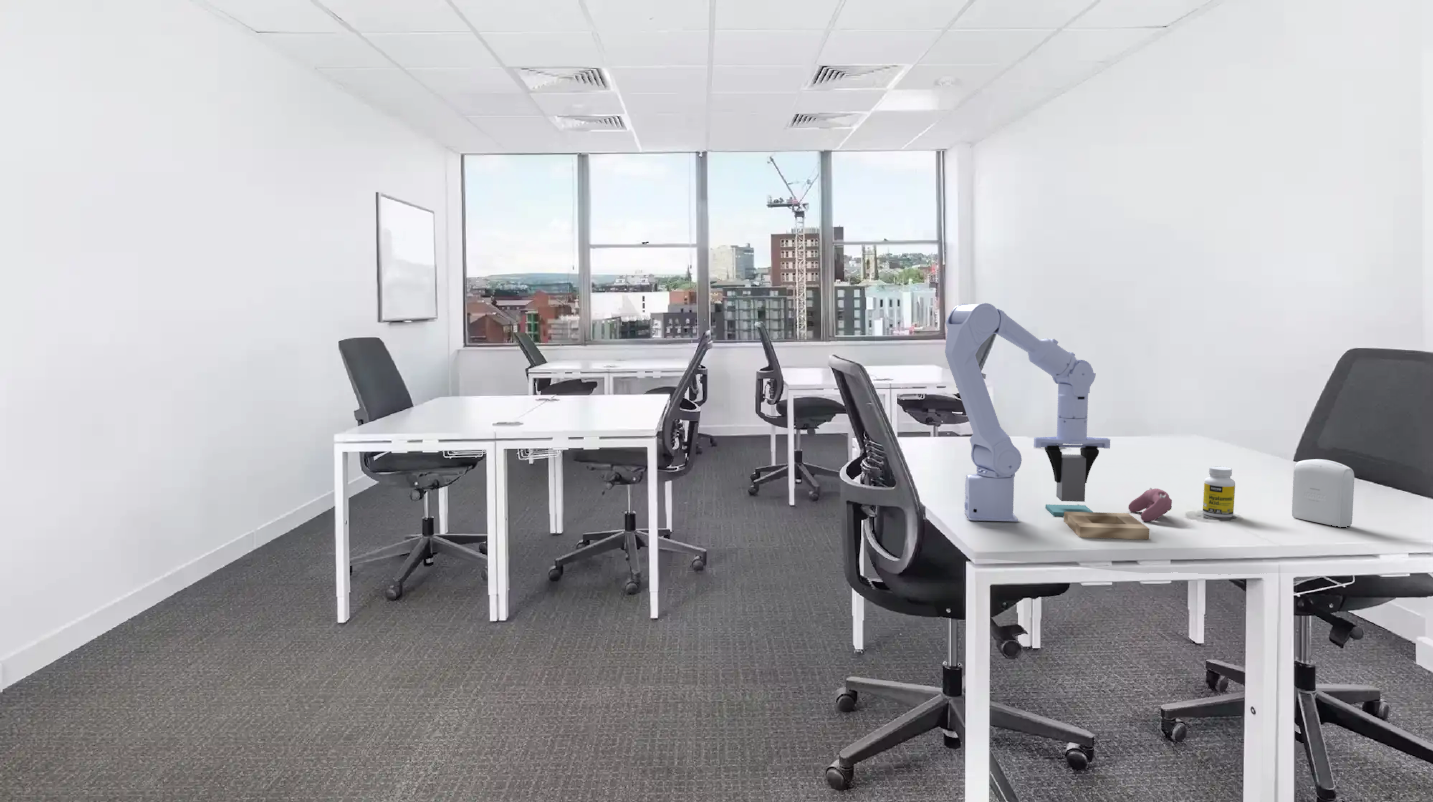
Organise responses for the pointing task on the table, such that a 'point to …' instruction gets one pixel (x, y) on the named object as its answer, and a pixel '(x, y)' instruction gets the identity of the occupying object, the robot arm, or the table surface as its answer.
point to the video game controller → (1151, 504)
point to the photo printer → (1323, 492)
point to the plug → (1072, 478)
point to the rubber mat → (1066, 509)
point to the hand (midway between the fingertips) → (1070, 481)
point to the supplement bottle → (1219, 492)
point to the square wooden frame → (1106, 525)
